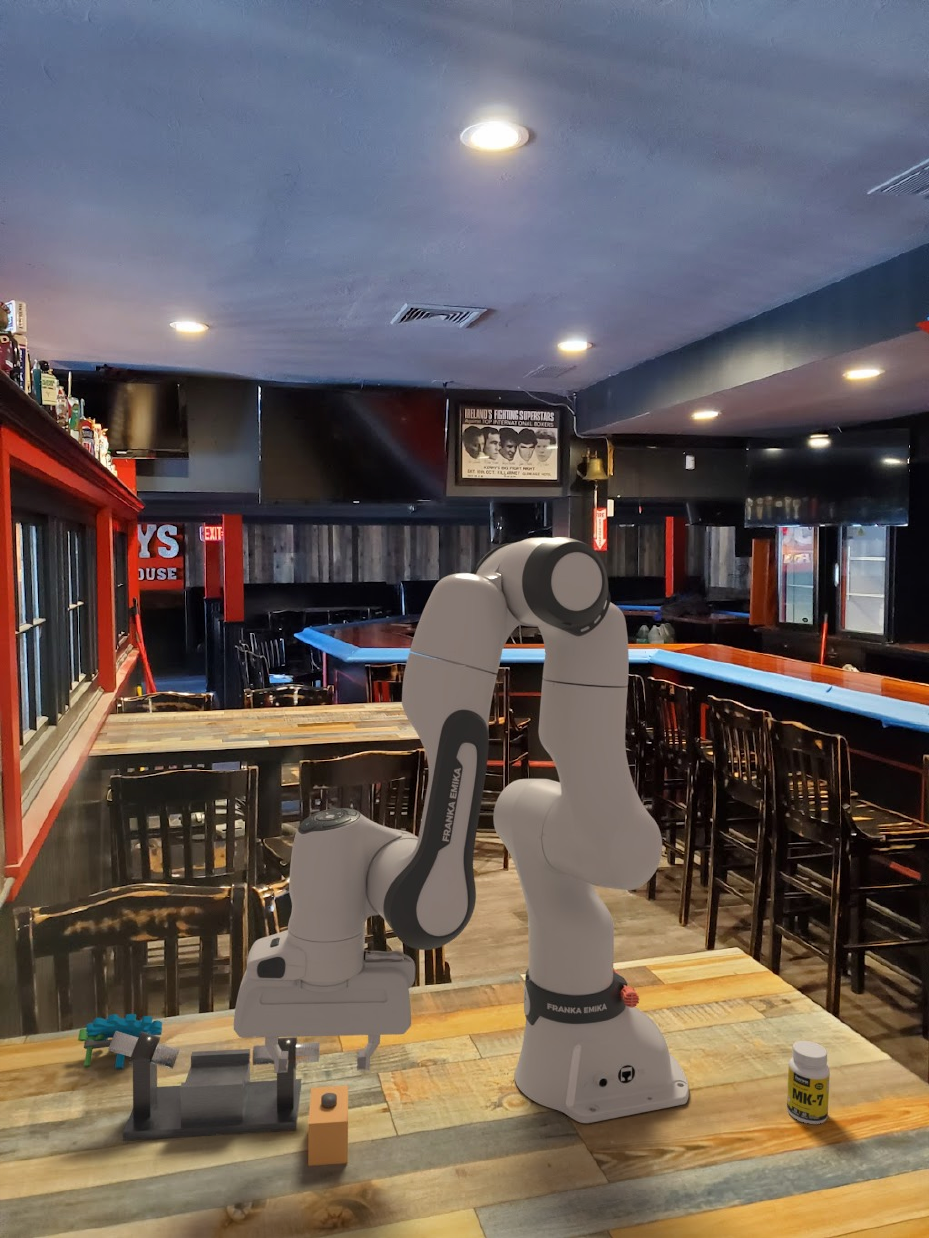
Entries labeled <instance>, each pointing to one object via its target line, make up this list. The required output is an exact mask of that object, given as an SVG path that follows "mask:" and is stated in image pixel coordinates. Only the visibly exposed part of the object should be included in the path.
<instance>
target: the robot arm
mask: <svg viewBox="0 0 929 1238" xmlns="http://www.w3.org/2000/svg"><path fill="white" fill-rule="evenodd" d="M611 597H612V596H611V593H610V591H609V579H608V574H607V570H606V567H605V564H604V562H603V560H602V558H601V556H600V554H598V552H597V551H596V550H595V549H594V548H593V547H591V546H590V544H587V543H585V542H583V541H581V540H578V539H575V538H570V537H565V536H557V537H530V538H525V539H523V540H520V541H517V542H510V543H509V542H508V543H504V544H501V545H498V546H497V547H494V548H492V549H491V550H490V551H488V552H487V553H485V555H484V556H483V557H482V558H481V559H480V560H479V561H478V562H477V564H476V566H475V567H474V568H473V569H472V570H471V571H470V572H468V573H467V572H459V573H453V574H448V575H447V576H444V577H442V578H441V579H440V580H439V581H438V582H437V583H436V584H435V586H434V587H433V589H432V591H431V593H430V596H429V598H428V600H427V602H426V603H425V606H424V608H423V610H422V613H421V615H420V619H419V622H418V623H417V626H416V630H415V631H414V636H413V638H412V641H411V645H410V649H409V653H408V656H407V660H406V664H405V668H404V672H403V681H402V689H401V690H402V691H401V692H402V693H401V706H402V708H403V711H404V712H403V713H404V714H405V716H406V718H407V720H408V722H409V723H410V725H411V726H412V728H413V730H414V731H415V732H416V734H417V735H418V738H419V740H420V741H421V745H422V747H423V749H424V752H425V755H426V759H427V765H428V766H427V767H428V781H427V787H426V792H425V798H424V806H423V810H422V816H421V821H420V827H419V832H418V836H417V835H415V834H414V833H411V832H409V831H406V830H403V829H397V828H391V827H388V826H384V825H383V824H379V823H377V822H375V821H373V820H371V819H369V818H368V817H366V816H365V815H363V814H362V813H361V812H360V811H359V810H357V809H353V808H347V807H346V808H345V807H344V808H343V807H342V808H341V807H340V808H337V807H336V808H329V809H325V810H320V811H318V812H315V813H313V814H310V816H308V817H306V818H305V819H303V820H302V821H301V823H300V824H298V827H297V829H296V831H295V835H294V839H293V843H292V849H291V855H290V856H291V857H290V865H289V882H288V883H289V885H288V891H289V896H290V900H291V906H292V907H291V914H290V917H289V920H288V924H287V930H284V931H280V932H277V933H275V934H271V935H268V936H267V935H266V936H264V937H261V938H258V939H257V940H255V941H254V942H253V944H252V946H251V948H250V949H249V951H248V956H247V958H246V959H247V960H246V970H245V971H244V975H243V976H242V980H241V982H240V986H239V989H238V993H237V998H236V1003H235V1009H234V1015H233V1017H234V1018H233V1030H234V1032H235V1033H236V1035H238V1037H239V1038H241V1039H249V1038H251V1039H253V1038H254V1039H255V1038H264V1045H265V1046H266V1048H267V1050H268V1051H269V1053H270V1055H271V1056H272V1058H273V1059H274V1064H273V1065H274V1067H273V1068H274V1069H273V1073H275V1074H277V1073H284V1072H287V1069H288V1051H281V1049H280V1047H279V1045H278V1038H290V1037H297V1038H298V1037H300V1038H301V1037H335V1036H336V1037H344V1036H367V1044H366V1045H365V1047H364V1048H360V1049H357V1054H356V1055H357V1057H356V1058H357V1060H356V1071H359V1072H361V1071H370V1069H371V1068H370V1066H371V1057H372V1056H373V1055H374V1053H375V1051H376V1050H377V1048H378V1047H379V1046H380V1044H381V1036H383V1035H384V1036H388V1035H393V1036H394V1035H395V1036H397V1035H405V1034H406V1033H407V1031H408V1030H409V1029H410V1027H412V1009H411V1007H412V1006H411V996H410V988H412V986H413V985H414V982H415V981H416V980H415V979H416V964H415V960H413V959H412V957H411V956H410V955H408V954H405V953H404V951H401V950H391V951H382V950H365V944H366V943H365V942H366V941H365V939H366V922H367V920H368V919H369V918H370V917H373V916H379V915H380V917H381V918H383V920H384V921H386V923H387V924H388V925H387V926H389V928H390V929H391V930H392V932H393V933H394V935H395V936H396V938H397V939H399V941H400V942H402V944H404V945H405V946H407V947H409V948H412V949H415V950H419V951H428V950H435V949H439V948H441V947H443V946H445V945H447V944H449V943H450V942H452V941H453V940H455V939H456V938H457V937H458V936H459V935H460V934H461V933H462V932H463V931H464V930H465V929H466V927H467V926H468V925H469V923H470V921H471V918H472V916H473V913H474V910H475V907H476V906H475V905H476V901H477V900H476V899H477V890H476V881H475V872H474V852H475V846H476V845H475V844H476V840H477V839H476V837H477V831H478V825H479V821H480V820H479V819H480V814H481V813H480V812H481V808H482V807H481V806H482V800H483V794H484V788H485V781H486V776H487V767H488V758H489V746H490V745H489V742H490V741H489V740H490V733H489V725H490V724H489V723H490V714H491V706H492V700H493V694H494V689H495V686H496V682H497V681H496V680H497V678H498V672H499V670H500V669H499V668H500V663H501V660H502V654H503V649H504V647H505V646H506V643H507V641H508V639H509V637H510V636H511V634H513V632H514V630H515V629H516V628H517V627H519V626H520V625H521V626H525V627H536V628H538V630H539V632H540V634H541V637H542V640H543V646H544V653H545V655H544V662H543V669H542V680H541V693H540V694H541V695H540V703H539V704H540V706H539V719H538V720H539V721H538V738H539V742H540V744H541V746H542V747H543V749H544V750H545V751H546V752H547V753H548V755H549V756H550V758H551V759H552V761H553V763H554V766H555V769H556V771H557V775H558V779H559V781H556V780H552V779H549V778H522V779H521V778H520V779H516V780H513V781H512V782H511V783H509V784H508V785H507V786H505V787H504V788H503V790H502V791H501V792H500V794H499V796H498V797H497V800H496V802H495V805H494V809H493V826H494V830H495V832H496V834H497V836H498V838H499V839H500V841H501V842H502V843H503V845H504V846H505V848H506V850H507V851H508V854H509V855H510V858H511V860H512V863H513V865H514V868H515V871H516V874H517V876H518V877H517V878H518V880H519V883H520V887H521V891H522V895H523V898H524V903H525V906H526V913H527V922H528V924H527V925H528V926H527V929H528V930H527V931H528V968H527V970H526V972H525V976H524V977H525V979H524V981H525V982H524V984H523V1011H524V1012H523V1013H524V1016H525V1026H524V1033H523V1041H522V1045H521V1050H520V1054H519V1058H518V1061H517V1065H516V1067H515V1071H514V1080H515V1084H516V1087H518V1089H519V1090H520V1092H522V1094H524V1095H525V1096H526V1097H528V1099H530V1100H531V1101H534V1102H535V1103H537V1104H539V1105H541V1106H544V1107H546V1108H549V1109H552V1110H554V1111H555V1110H557V1111H558V1112H561V1113H564V1115H567V1116H568V1117H570V1118H571V1119H572V1120H574V1121H576V1122H579V1123H581V1124H590V1123H591V1124H592V1123H596V1122H601V1121H606V1120H611V1119H616V1118H621V1117H626V1116H632V1115H636V1114H641V1113H647V1112H651V1111H656V1110H662V1109H667V1108H672V1107H675V1106H676V1107H677V1106H682V1105H685V1104H687V1102H688V1100H689V1096H690V1095H689V1094H690V1091H689V1090H690V1089H689V1082H688V1078H687V1076H686V1074H685V1071H684V1069H683V1068H682V1066H681V1064H680V1062H678V1060H677V1059H676V1058H675V1056H674V1055H672V1053H670V1051H669V1047H668V1043H667V1040H666V1039H665V1036H664V1035H663V1033H662V1031H661V1029H660V1028H659V1026H658V1025H657V1024H656V1022H655V1021H654V1020H653V1019H652V1018H650V1016H649V1015H647V1014H646V1013H644V1012H643V1011H642V1010H640V1009H639V1008H637V1007H636V1006H638V1004H639V1002H640V996H639V994H638V993H637V991H636V990H635V989H634V987H632V986H628V982H627V980H626V979H625V978H624V977H623V976H621V975H620V973H619V972H618V971H617V970H616V969H615V968H614V959H615V958H614V957H615V956H614V955H615V953H614V952H615V951H614V949H615V947H614V946H615V925H614V919H613V916H612V914H611V912H610V911H609V908H608V907H607V905H606V903H604V901H603V900H602V898H601V897H600V896H599V894H598V892H597V891H596V889H595V886H596V887H600V888H606V889H611V890H621V891H635V890H637V889H639V888H641V887H643V886H644V885H646V883H648V881H650V880H651V878H652V877H653V875H654V874H655V873H656V871H657V869H658V868H659V865H660V863H661V859H662V854H663V839H662V835H661V830H660V828H659V825H658V824H657V822H656V820H655V818H654V817H652V816H651V814H650V813H649V811H648V810H647V809H646V806H644V804H643V802H642V800H641V798H640V796H639V794H638V791H637V790H636V789H637V788H636V786H635V784H634V780H633V777H632V775H631V770H630V766H629V762H628V757H627V752H626V751H627V749H626V748H627V747H626V721H627V719H626V718H627V701H628V700H627V699H628V691H629V690H628V685H629V664H630V663H629V661H630V660H629V640H628V639H629V638H628V631H627V630H628V629H627V623H626V617H625V615H624V613H623V611H622V610H621V608H619V606H617V605H615V604H614V603H612V602H611Z"/></svg>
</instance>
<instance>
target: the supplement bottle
mask: <svg viewBox="0 0 929 1238" xmlns="http://www.w3.org/2000/svg"><path fill="white" fill-rule="evenodd" d="M791 1055H792V1057H791V1058H790V1059H789V1062H788V1070H787V1071H788V1075H787V1098H786V1109H787V1112H788V1114H790V1115H789V1116H791V1117H792V1118H793V1119H795V1120H796V1119H797V1120H796V1121H799V1122H801V1123H803V1122H804V1123H803V1124H807V1123H809V1124H808V1125H821V1124H824V1123H825V1122H826V1121H827V1119H828V1115H829V1098H830V1097H829V1095H830V1092H829V1091H830V1075H831V1074H830V1071H831V1070H830V1067H829V1066H828V1052H827V1050H826V1048H825V1047H824V1046H822V1045H821V1044H819V1043H817V1042H813V1041H809V1040H799V1041H795V1042H794V1043H793V1045H792V1053H791ZM820 1123H821V1124H820Z"/></svg>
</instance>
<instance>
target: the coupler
mask: <svg viewBox="0 0 929 1238" xmlns="http://www.w3.org/2000/svg"><path fill="white" fill-rule="evenodd" d="M310 1089H311V1090H310V1097H309V1099H310V1100H309V1111H308V1122H307V1123H308V1125H307V1126H308V1133H307V1134H308V1135H307V1136H308V1138H307V1140H308V1141H307V1142H308V1144H307V1145H308V1146H307V1147H308V1149H307V1150H308V1153H307V1154H308V1155H307V1157H308V1161H307V1163H308V1165H307V1166H309V1167H310V1166H312V1167H313V1166H324V1165H337V1164H348V1163H349V1162H348V1161H349V1160H348V1159H349V1152H348V1151H349V1085H336V1086H332V1085H331V1086H319V1087H318V1086H317V1087H311V1088H310Z"/></svg>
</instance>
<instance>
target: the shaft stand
mask: <svg viewBox="0 0 929 1238" xmlns="http://www.w3.org/2000/svg"><path fill="white" fill-rule="evenodd" d="M111 1039H112V1041H111V1043H110V1046H109V1047H108V1048H107V1049H108V1050H107V1052H108V1051H109V1052H113V1053H116V1054H117V1053H119V1054H122V1055H125V1056H126V1057H129V1061H128V1064H130V1065H132V1111H131V1112H130V1115H129V1117H128V1119H127V1122H126V1124H125V1126H124V1129H123V1131H122V1141H135V1140H139V1141H140V1140H150V1139H151V1140H156V1139H168V1138H169V1139H172V1138H173V1139H174V1138H186V1137H202V1136H203V1137H204V1136H218V1135H219V1136H220V1134H222V1135H235V1134H236V1135H237V1134H250V1133H252V1134H253V1133H268V1132H271V1133H272V1132H283V1131H297V1126H298V1117H299V1109H300V1100H301V1093H302V1091H301V1090H302V1078H297V1076H296V1075H297V1074H296V1073H297V1072H296V1071H297V1064H299V1063H302V1064H303V1063H319V1062H320V1046H321V1045H320V1042H319V1041H318V1042H317V1041H316V1042H298V1037H278V1045H279V1047H280V1049H281V1051H288V1069H287V1072H284V1073H276V1080H259V1081H258V1080H257V1081H255V1080H254V1081H251V1077H250V1076H251V1048H241V1049H239V1048H238V1049H221V1050H219V1049H218V1050H202V1051H201V1050H200V1051H191V1055H190V1067H189V1070H188V1073H187V1075H186V1076H187V1077H186V1079H185V1082H181V1083H180V1085H167V1086H166V1085H165V1086H158V1066H161V1067H164V1068H168V1069H171V1070H173V1069H174V1066H175V1064H176V1062H177V1058H178V1055H179V1053H180V1049H179V1048H176V1047H172V1046H169V1045H165V1044H162V1043H160V1040H161V1036H159V1035H151V1034H148V1033H144V1032H141V1033H140V1035H139V1038H138V1037H135V1036H131V1035H128V1034H125V1033H121V1032H118V1031H116V1032H115V1034H114V1036H113V1038H111ZM261 1065H262V1066H264V1065H267V1066H268V1065H274V1059H273V1058H272V1056H271V1055H270V1053H269V1051H268V1050H267V1048H266V1046H265V1044H257V1045H256V1044H255V1045H253V1048H252V1066H261ZM300 1092H301V1093H300ZM216 1134H218V1135H216Z"/></svg>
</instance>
